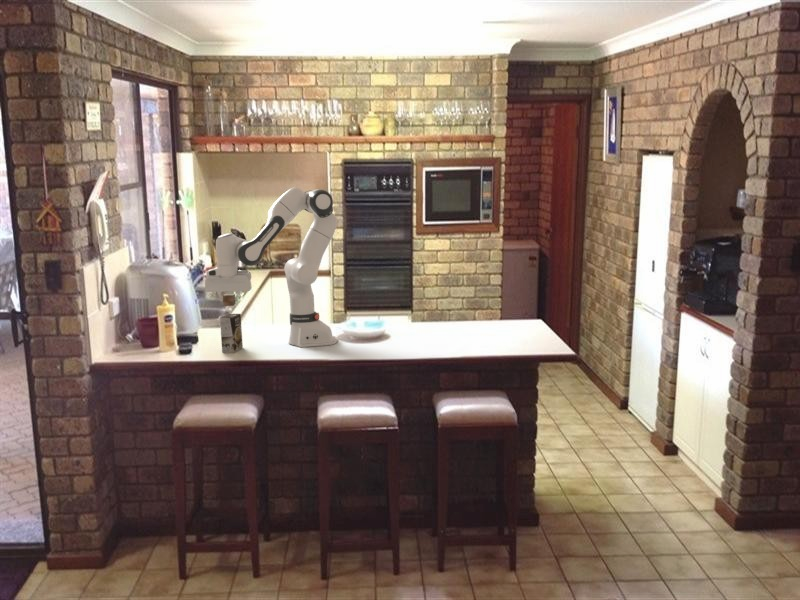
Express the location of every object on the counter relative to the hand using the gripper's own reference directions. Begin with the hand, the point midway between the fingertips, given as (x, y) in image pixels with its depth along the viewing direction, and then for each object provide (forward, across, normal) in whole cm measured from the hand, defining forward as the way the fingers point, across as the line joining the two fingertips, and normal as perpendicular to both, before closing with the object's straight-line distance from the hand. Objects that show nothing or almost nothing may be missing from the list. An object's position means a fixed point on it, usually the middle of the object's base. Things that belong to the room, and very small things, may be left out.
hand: (229, 301), depth 330 cm
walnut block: (+2, 0, 0) cm, 2 cm away
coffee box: (+23, 0, 0) cm, 23 cm away
